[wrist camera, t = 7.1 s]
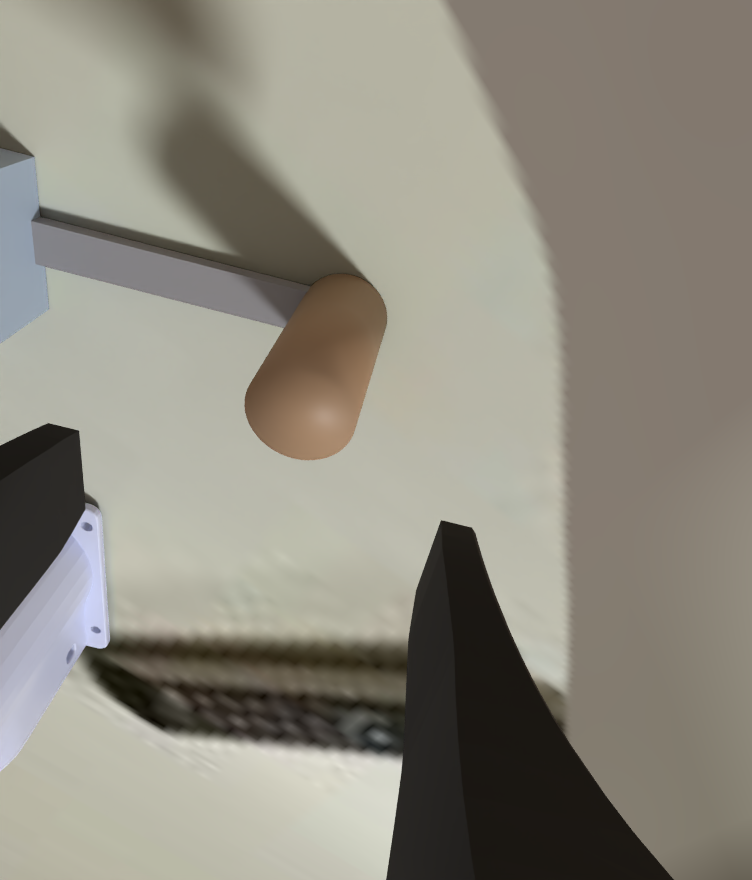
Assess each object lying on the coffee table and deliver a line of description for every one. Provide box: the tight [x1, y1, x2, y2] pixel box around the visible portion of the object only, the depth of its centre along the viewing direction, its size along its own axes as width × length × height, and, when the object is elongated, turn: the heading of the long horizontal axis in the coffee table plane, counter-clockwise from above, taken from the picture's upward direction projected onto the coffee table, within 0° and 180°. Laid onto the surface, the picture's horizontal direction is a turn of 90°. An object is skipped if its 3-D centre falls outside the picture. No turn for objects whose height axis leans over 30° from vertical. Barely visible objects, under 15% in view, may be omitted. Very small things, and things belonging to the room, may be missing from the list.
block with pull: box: [0, 148, 387, 460], centre depth 18 cm, size 5×16×6 cm, turn 78°
